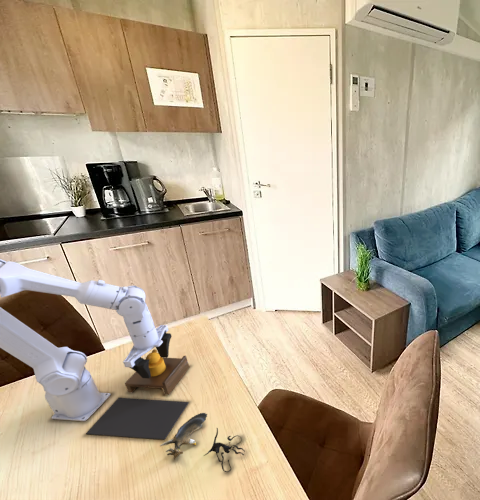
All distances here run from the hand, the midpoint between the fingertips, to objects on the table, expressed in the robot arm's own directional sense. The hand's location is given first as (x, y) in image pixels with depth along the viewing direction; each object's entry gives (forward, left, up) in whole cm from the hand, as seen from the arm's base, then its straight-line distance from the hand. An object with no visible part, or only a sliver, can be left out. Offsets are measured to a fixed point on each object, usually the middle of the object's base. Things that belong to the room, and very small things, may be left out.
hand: (155, 366), depth 82 cm
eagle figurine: (+19, -17, -5) cm, 26 cm away
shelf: (0, 0, -5) cm, 5 cm away
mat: (+3, -12, -5) cm, 13 cm away
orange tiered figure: (0, 0, -2) cm, 2 cm away
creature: (+30, -19, -5) cm, 36 cm away
